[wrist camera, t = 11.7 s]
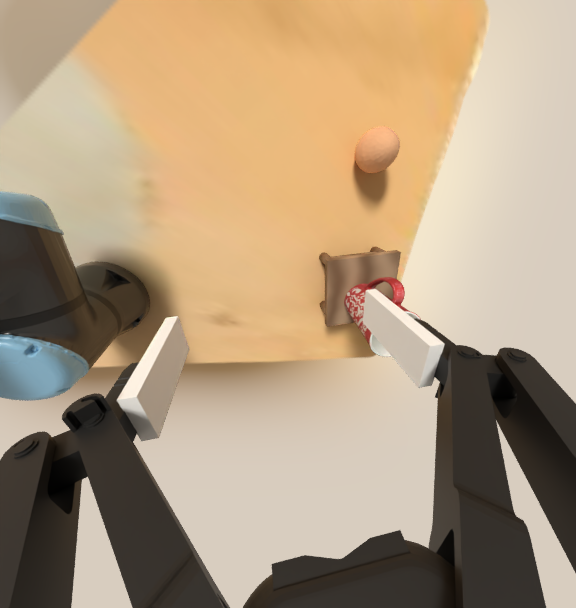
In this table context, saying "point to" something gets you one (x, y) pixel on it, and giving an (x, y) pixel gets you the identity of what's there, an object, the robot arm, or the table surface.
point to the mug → (356, 308)
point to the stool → (354, 279)
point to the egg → (377, 149)
